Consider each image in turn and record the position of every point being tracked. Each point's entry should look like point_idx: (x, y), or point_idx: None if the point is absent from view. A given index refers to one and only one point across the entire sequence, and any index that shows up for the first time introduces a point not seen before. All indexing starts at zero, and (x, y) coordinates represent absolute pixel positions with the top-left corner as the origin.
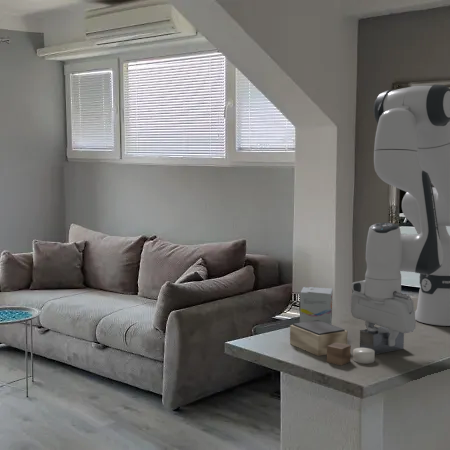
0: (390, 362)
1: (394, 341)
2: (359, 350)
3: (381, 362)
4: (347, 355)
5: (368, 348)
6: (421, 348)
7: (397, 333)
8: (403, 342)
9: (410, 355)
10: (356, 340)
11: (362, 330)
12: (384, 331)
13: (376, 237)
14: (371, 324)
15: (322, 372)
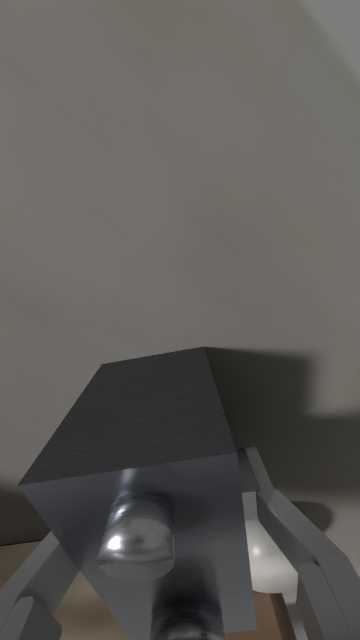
0: (331, 473)
1: (266, 472)
2: (272, 582)
3: (313, 493)
4: (273, 593)
5: (267, 557)
6: (238, 244)
7: (338, 558)
8: (209, 367)
9: (309, 373)
10: (19, 459)
11: (141, 637)
12: (216, 578)
13: None
14: (48, 632)
15: (294, 600)
